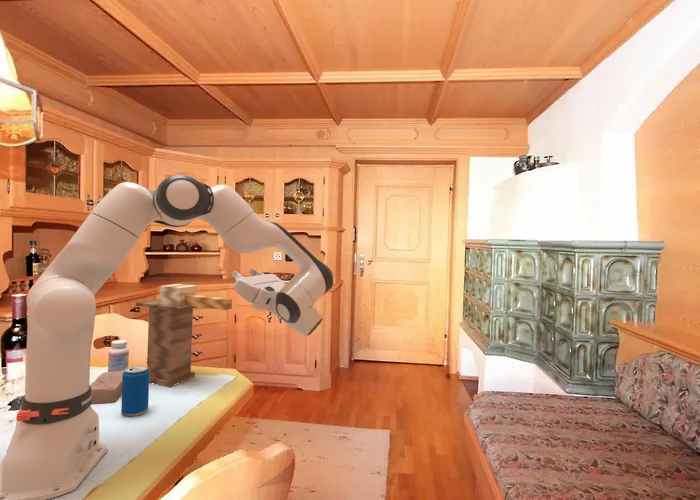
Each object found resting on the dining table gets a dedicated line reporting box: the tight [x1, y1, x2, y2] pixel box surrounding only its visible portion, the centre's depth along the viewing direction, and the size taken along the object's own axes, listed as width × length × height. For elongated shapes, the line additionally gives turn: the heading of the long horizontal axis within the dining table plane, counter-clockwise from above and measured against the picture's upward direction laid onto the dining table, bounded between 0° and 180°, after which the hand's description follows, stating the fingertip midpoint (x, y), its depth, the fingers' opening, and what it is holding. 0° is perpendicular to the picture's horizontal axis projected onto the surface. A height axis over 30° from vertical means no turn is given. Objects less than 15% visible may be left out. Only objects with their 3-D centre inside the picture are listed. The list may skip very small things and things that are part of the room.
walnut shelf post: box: [135, 298, 198, 388], centre depth 131 cm, size 18×12×26 cm, turn 71°
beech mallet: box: [159, 283, 233, 311], centre depth 127 cm, size 24×8×6 cm, turn 71°
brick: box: [89, 371, 124, 404], centre depth 118 cm, size 17×8×5 cm, turn 17°
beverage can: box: [120, 365, 150, 417], centre depth 106 cm, size 6×6×12 cm
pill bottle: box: [107, 339, 130, 372], centre depth 134 cm, size 6×6×11 cm
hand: (242, 271), depth 121 cm, fingers open, 8 cm apart
